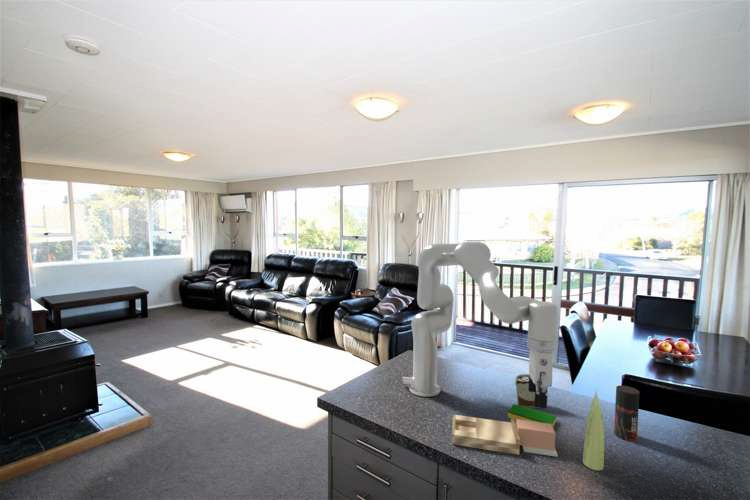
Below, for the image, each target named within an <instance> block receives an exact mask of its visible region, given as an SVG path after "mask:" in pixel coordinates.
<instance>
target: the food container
mask: <svg viewBox="0 0 750 500" xmlns="http://www.w3.org/2000/svg"><path fill="white" fill-rule="evenodd" d="M529 379H531V378H530V374H529V373H528V374H526V373H525V374H524V373H522V374H519V375H516V377H515V378H514V382H513V384H514V385H515V386H516V387H515V388H516V400H517V402H516V403H517V405H520V406H523V407H527V408H536V407H535V406H534V400H535V393H536V392H529V390H528V388H529ZM540 383H541V382H540ZM540 387H541V386H540ZM548 389H549V386H548V385H547V390H548Z"/></svg>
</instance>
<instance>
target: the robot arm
mask: <svg viewBox="0 0 750 500" xmlns="http://www.w3.org/2000/svg"><path fill="white" fill-rule="evenodd" d="M491 255H492V254H491V249H490V247H489V246H488V245H487V244H485V243H484V242H481V241H464V242H461V243H434V244H429V245H426V246H425V247H423V248H422V250H421V251H420V253H419V255H418V261H417V263H418V265H417V266H418V280H417V292H416V293H417V294H416V301H417V305H418V307H419V308H420V309H423V310H426V311H423V312H422V311H421V312H418V313H417V314H415V315H414V316H413V318H412V319H411V326H410V327H411V331H412V332H411V333H412V339H413V342H412V343H413V349H412V350H413V353H412V355H413V356H412V357H413V359H412V361H413V362H412V376H410V377H409V376H408V377H407V376H402V377H401V378H402V380H401V382H403V384H405V385H408V390H409V392H410V393H411V394H413V395H415V396H419V397H424V398H425V397H426V398H429V397H430V398H431V397H434V396H439V394H440V393H441V386H440V385H438V382H437V381H438V344H437V342H436V341H437V340H436V339H435V335H438V334H442V333H446V332H447V331H449V330H450V328H451V326H452V321H453V312H454V311H453V310H454V293H453V290H452V288H451V287H450V286H449V285H447V284H445V283H441V271H440V269H439V267H447V266H460V267H461V268H462V269H463V270H464V271H465V272H466V273H467V274H468V275H469V277H471V278H472V280H473V281H474V282H475V283H476V284H477V285H478V289H479V295H480V297H481V299H482V302H483V304H484V305H485V306H486V307H487V309H488V310H489V311H490V312H491V313H492V314H493V315H494V316H495V317H496V318H497V319H498V320H499V321H501V322H502V323H504V324H510V325H511V324H515V323H516V324H517V323H519V322H525V321H528V325H527V339H526V341H527V342H526V347H527V348H528V350H529V358H528V374H529V375H530V378H531V379H529V388H528V390H529V392H536V393H535V400H534V406H535V407H534V408H537V407H539V408H541V409H547V407H548V405H547V404H548V397H549V396H548V393H549V392H548V391H549V390H548V389H547V385H548V388H549V387H550V388H551V387H552V386H553V353H554V352H555V351H556V341H557V340H556V339H557V338H556V337H557V326H558V316H559V315H558V313H559V309H558V306H557V305H556V304H555V303H554V302H549V301H544V300H543V301H542V300H537V299H534V298H533V297H532V298H531V297H529V296H525V295H519V296H518V295H517V296H514V297H508V295H507V294H505V293H504V291H503V290H501V288H500V287H499V285H498V283H497V280H496V279H497V278H498V276H499V273H500V270H499V268H498V267H497V266H496V265H495V263H493V262H492V261H491V260H490V259H491ZM540 382H541V383H540ZM540 386H541V387H540Z"/></svg>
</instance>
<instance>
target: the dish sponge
mask: <svg viewBox="0 0 750 500" xmlns="http://www.w3.org/2000/svg"><path fill="white" fill-rule="evenodd" d="M507 411H508V413H507V417H508V418H510V419H511V418H514V419H515V420H516V419H520V420H527V421H534V422H541V423H548V424H551V425H552V427H553V428H554V427H555V424H556V415H555V414H554V415H553V414H551V413H547V412H545V411H544V412H543V411H540V410H537V409H533V408H531V407H523V406H520V405H518V404H516V403H513V404H512V406H510V408H509V410H507Z"/></svg>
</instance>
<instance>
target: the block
mask: <svg viewBox="0 0 750 500" xmlns="http://www.w3.org/2000/svg"><path fill="white" fill-rule="evenodd" d="M515 423H516V427H517V431H518V434H519V438H520V446H528V447H534V448H541V449H547V450H554V451H555V449H556V447H555V446H556V432H555V430H554V426H553V427H552V425H551V424H548V423H541V422H534V421H527V420H520V419H515Z"/></svg>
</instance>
